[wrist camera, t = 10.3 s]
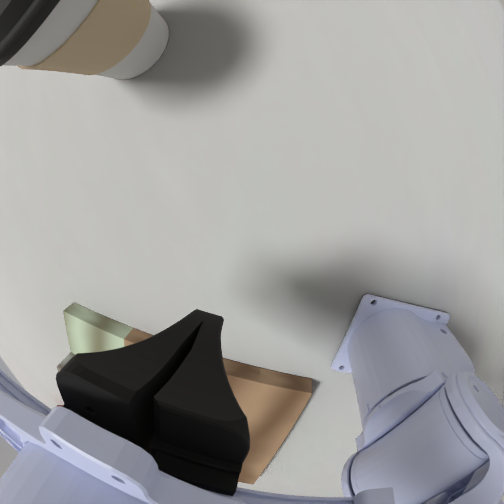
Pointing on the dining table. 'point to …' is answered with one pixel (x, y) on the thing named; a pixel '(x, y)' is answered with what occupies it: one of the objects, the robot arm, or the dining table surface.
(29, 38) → the coffee cup
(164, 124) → the dining table surface
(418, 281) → the dining table surface
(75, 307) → the board
